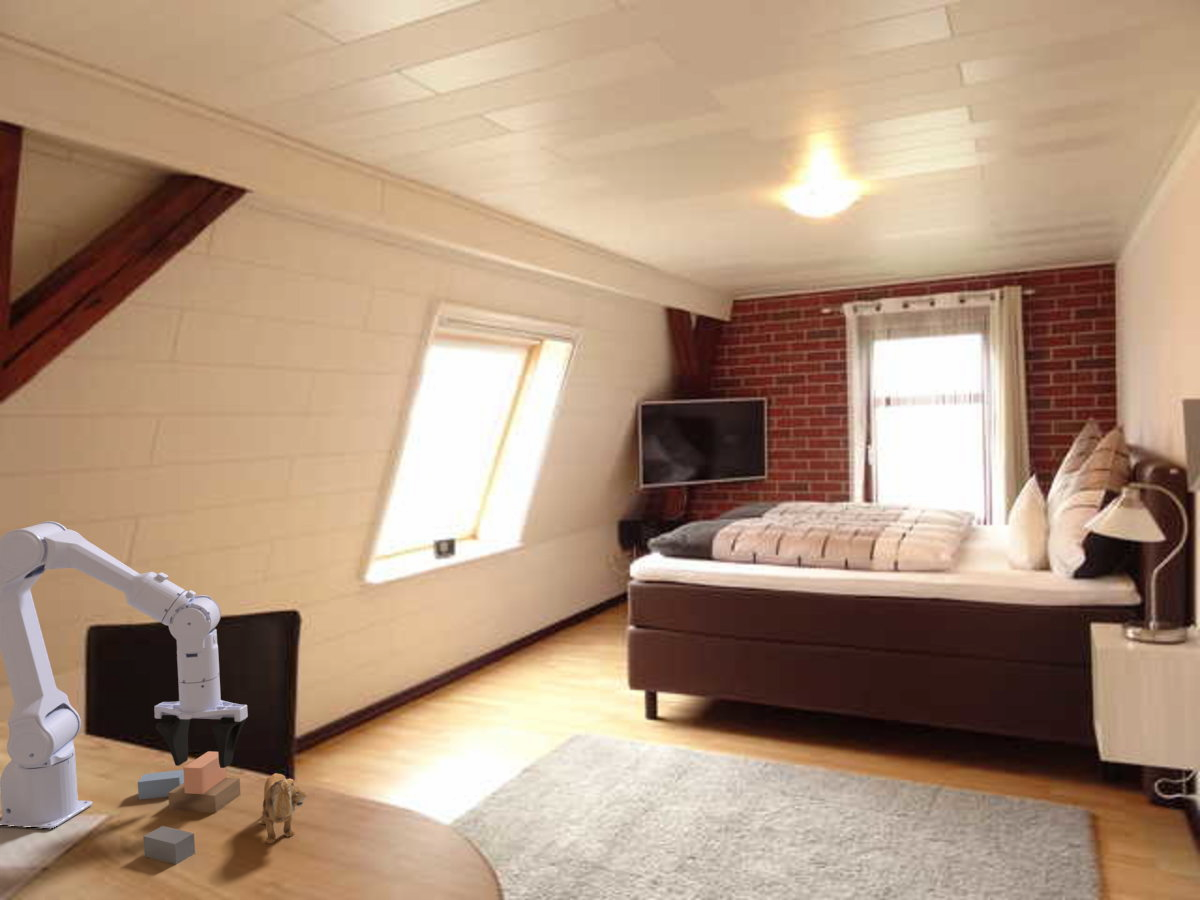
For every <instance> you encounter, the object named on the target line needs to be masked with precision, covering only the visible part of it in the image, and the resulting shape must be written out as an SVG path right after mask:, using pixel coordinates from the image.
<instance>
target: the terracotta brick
mask: <svg viewBox="0 0 1200 900" xmlns="http://www.w3.org/2000/svg"><path fill="white" fill-rule="evenodd" d="M182 770H184V789H185V793H189V794H204V793H205V792H207V791H208V790H209V789H211V788H212V787H214V786H215V785H216V784H218V783H219V782H221V781H222V780H223V779H225V778H226V777H227V778H228V775H227V767H225V768H220V765H219V757H218V751H207V752H204V754H202V755H200V756H199V757H197V758H196V759H194V760H192V761H191V762H190V763H188V764H186V765H184V766H183V768H182Z"/></svg>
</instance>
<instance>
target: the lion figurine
mask: <svg viewBox="0 0 1200 900" xmlns="http://www.w3.org/2000/svg"><path fill="white" fill-rule="evenodd" d="M263 791H264V792H263V801H262V802H263V803H262V811H263V812H264V814H263V818H262V819H261V821H260V825H261V824H262V825H265V828H266V832H267V838H266V839H265V842H266V844H273V843H275V841H276V838H277V836H276V833H275V830H274V828H275V827H274V824H279V823H280V824H283V834H284V836H285V837H287V838H289V837H288V836H291V837H292V835H295V834H296V831H295V830H292V819H293V814H294V813H295V811H296V807H299V808H301V807H303V804H304V801H305V800H306V798H307V796H308V793H307V792H305V791H302V790H300V788H299V787H298V786H297V785H294V779H293V778H287V779H286V776H285V775H283V774H281V773H273V774H272V775H270V776H268V777H267V779H266V781H265V783H264V790H263ZM294 833H295V834H294Z"/></svg>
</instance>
